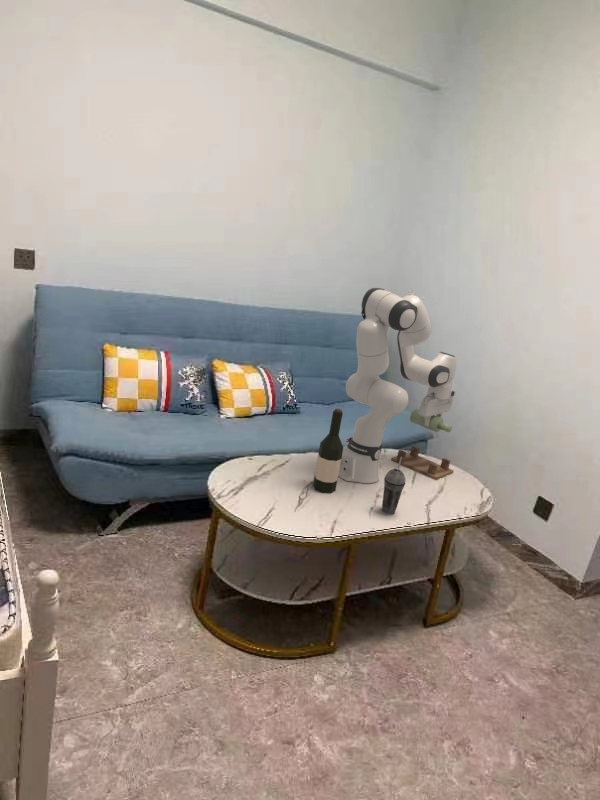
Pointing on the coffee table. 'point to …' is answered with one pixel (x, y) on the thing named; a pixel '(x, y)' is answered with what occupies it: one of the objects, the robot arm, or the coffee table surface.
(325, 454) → the wine bottle
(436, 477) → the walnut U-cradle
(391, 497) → the beverage cup
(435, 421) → the olive glass bottle
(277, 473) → the coffee table surface
